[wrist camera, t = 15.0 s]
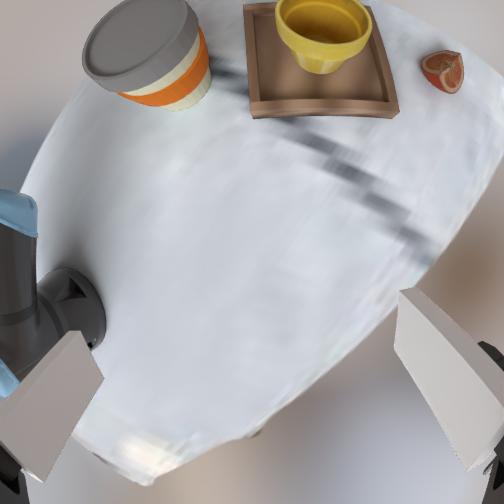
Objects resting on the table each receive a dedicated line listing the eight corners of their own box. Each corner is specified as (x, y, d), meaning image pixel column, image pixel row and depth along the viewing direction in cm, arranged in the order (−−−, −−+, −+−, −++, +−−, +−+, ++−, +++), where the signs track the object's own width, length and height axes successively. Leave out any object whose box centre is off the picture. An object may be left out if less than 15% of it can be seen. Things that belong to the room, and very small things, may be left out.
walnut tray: (253, 119, 33) (250, 111, 30) (245, 16, 30) (242, 5, 27) (391, 118, 30) (399, 111, 27) (365, 17, 28) (370, 6, 25)
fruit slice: (433, 51, 27) (446, 37, 22) (462, 82, 27) (478, 72, 22) (408, 72, 29) (421, 58, 24) (440, 107, 29) (456, 96, 24)
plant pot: (303, 17, 28) (306, -26, 19) (367, 52, 28) (387, 14, 19) (263, 61, 30) (255, 19, 21) (331, 100, 30) (346, 64, 20)
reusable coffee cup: (222, 41, 31) (192, -25, 16) (226, 114, 33) (189, 60, 18) (143, 60, 33) (90, 14, 18) (140, 131, 35) (72, 100, 20)
